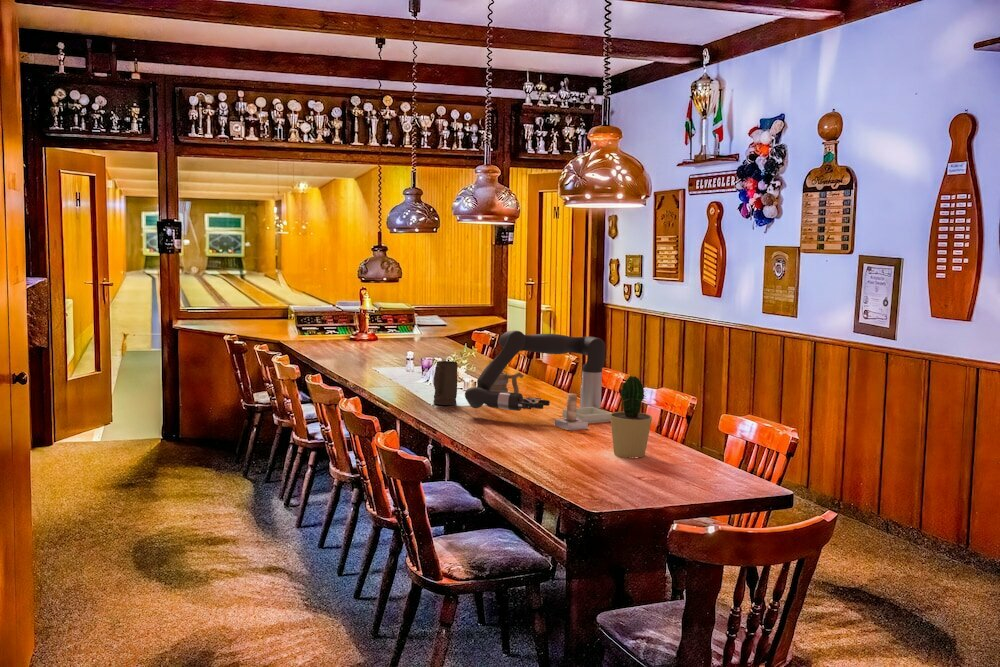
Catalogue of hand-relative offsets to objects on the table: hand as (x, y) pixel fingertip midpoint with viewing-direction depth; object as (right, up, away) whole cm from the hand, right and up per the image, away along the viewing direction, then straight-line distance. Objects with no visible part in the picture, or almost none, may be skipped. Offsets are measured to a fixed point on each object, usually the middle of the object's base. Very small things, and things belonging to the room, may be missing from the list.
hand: (546, 404), depth 394 cm
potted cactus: (+28, -15, -49) cm, 58 cm away
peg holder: (+10, -9, -3) cm, 14 cm away
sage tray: (+19, -7, +16) cm, 26 cm away
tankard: (-19, -3, +49) cm, 53 cm away
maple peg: (+10, -9, -3) cm, 14 cm away
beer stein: (-46, -3, +39) cm, 60 cm away
